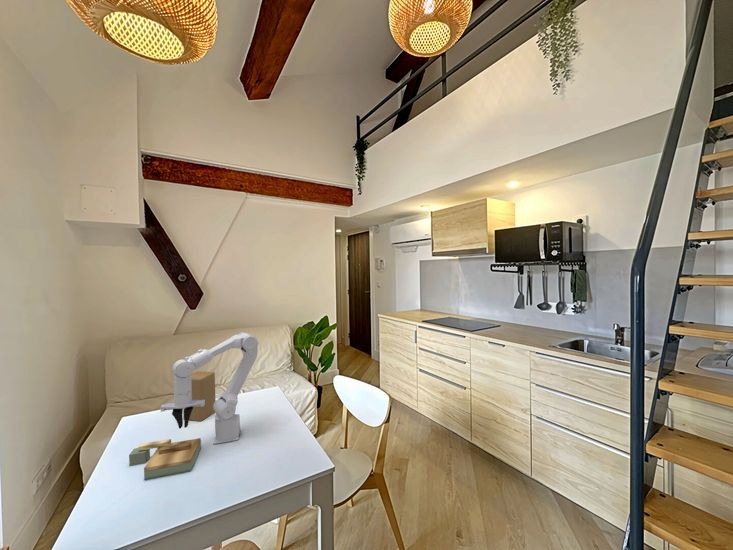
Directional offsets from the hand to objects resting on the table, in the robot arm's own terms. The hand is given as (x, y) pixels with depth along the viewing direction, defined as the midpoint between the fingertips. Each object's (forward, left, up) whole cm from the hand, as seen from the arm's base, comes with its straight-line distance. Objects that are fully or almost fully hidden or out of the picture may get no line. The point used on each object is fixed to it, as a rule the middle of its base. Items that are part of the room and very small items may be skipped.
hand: (183, 426), depth 114 cm
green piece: (+2, +5, -10) cm, 12 cm away
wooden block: (+2, -32, -11) cm, 33 cm away
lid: (+2, +5, -7) cm, 9 cm away
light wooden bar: (+10, 0, -6) cm, 11 cm away
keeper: (+15, 0, -10) cm, 18 cm away
